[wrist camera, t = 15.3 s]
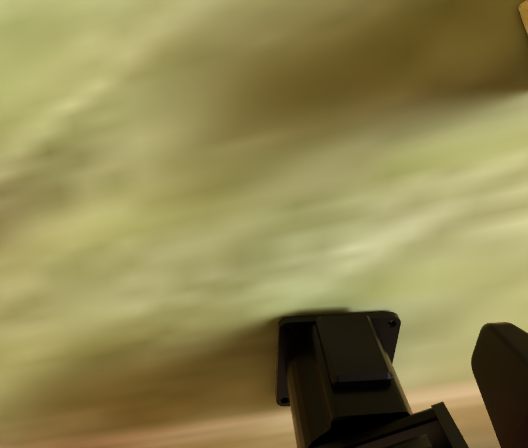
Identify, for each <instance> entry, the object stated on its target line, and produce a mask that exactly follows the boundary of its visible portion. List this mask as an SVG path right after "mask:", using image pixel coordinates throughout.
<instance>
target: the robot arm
mask: <svg viewBox="0 0 528 448" xmlns="http://www.w3.org/2000/svg"><path fill="white" fill-rule="evenodd" d="M389 321H392V322H390V323H388V322H389ZM400 325H401V321H400V319H399V317H398V315H397V314H396V313H394V312H382V313H362V314H342V315H322V316H303V317H287V318H283V319H281V320H280V321H279V324H278V342H277V370H276V402H277V404H278V405H280V406H291V412H292V418H293V424H294V431H295V437H296V443H297V448H469V447H468V445H467V444H466V442H465V440H464V438H463V436H462V435H461V433H460V431H459V429H458V428H457V426H456V424H455V422H454V420H453V419H452V417H451V415H450V413H449V412H448V410H447V408H446V406H445V404H444V403H443V402H440V403H437V404H434V405H431V407H432V408H429V409H426V410H423V411H420V412H417V413H414V414H413V413H412V411H411V408H410V406H409V404H408V401H407V399H406V396H405V394H404V392H403V389H402V387H401V385H400V382H399V380H398V377H397V375H396V373H395V370H394V368H393V366H392V362H393V358H394V353H395V348H396V344H397V339H398V334H399V329H400ZM287 326H291V327H290V328H285V327H287ZM471 365H472V371H473V374H474V377H475V379H476V382H477V385H478V387H479V390H480V393H481V395H482V398H483V401H484V403H485V406H486V409H487V411H488V414H489V417H490V419H491V422H492V425H493V428H494V430H495V433H496V436H497V438H498V441H499V444H500V446H501V448H528V333H527V332H525V331H523V330H522V329H520V328H518V327H517V326H515V325H513V324H511V323H507V322H500V323H487V324H485V325H484V326H483V327H482V328H481V330H480V333H479V337H478V340H477V343H476V346H475V349H474V352H473V355H472V359H471Z"/></svg>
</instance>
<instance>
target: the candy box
mask: <svg viewBox="0 0 528 448" xmlns="http://www.w3.org/2000/svg"><path fill="white" fill-rule="evenodd" d="M518 9H519V12H520V15H521V18H522V21H523V24H524V27H525V30H526V32H527V35H528V0H526V1H525V2H523V3H522V4H520V5H519V7H518Z"/></svg>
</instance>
